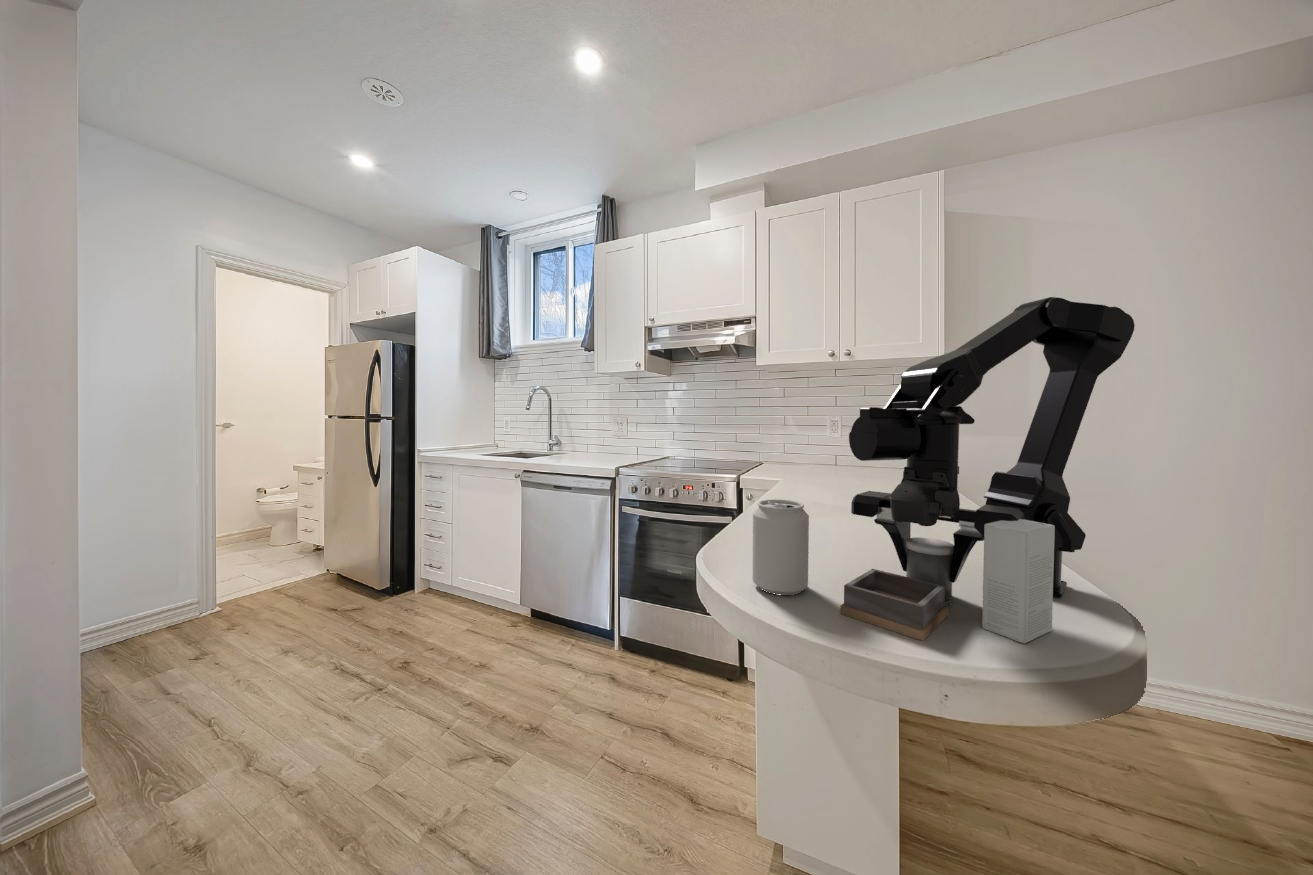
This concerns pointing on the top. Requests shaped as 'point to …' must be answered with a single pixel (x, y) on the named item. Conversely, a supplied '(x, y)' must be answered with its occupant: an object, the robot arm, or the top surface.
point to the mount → (895, 603)
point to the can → (780, 546)
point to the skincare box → (1018, 579)
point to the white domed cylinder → (930, 562)
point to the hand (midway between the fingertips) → (928, 576)
